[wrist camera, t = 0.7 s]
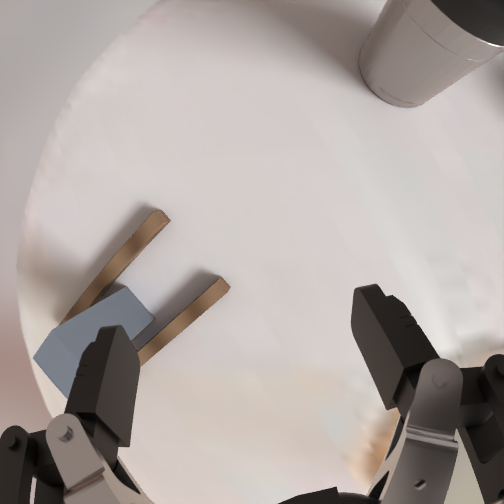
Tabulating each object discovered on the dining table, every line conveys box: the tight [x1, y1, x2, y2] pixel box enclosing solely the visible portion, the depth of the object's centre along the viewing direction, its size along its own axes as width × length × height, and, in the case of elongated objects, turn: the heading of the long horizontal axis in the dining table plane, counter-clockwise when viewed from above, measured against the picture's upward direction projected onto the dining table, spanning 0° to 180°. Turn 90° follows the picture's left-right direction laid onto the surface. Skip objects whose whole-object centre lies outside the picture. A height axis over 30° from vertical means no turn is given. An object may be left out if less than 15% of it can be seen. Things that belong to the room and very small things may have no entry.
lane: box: [60, 211, 230, 367], centre depth 34 cm, size 22×11×2 cm, turn 132°
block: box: [33, 286, 155, 399], centre depth 28 cm, size 5×5×14 cm
